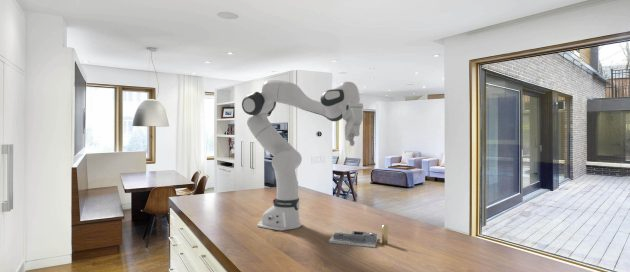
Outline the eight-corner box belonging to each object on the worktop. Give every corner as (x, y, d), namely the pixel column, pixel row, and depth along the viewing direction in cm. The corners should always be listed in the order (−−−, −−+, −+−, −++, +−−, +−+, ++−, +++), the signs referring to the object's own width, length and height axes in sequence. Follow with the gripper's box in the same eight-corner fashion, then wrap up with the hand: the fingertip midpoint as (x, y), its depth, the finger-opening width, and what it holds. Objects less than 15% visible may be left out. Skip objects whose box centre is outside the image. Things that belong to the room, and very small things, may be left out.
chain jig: (328, 242, 147) (328, 233, 147) (335, 234, 159) (335, 226, 159) (375, 247, 142) (375, 238, 142) (378, 238, 153) (378, 229, 153)
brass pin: (381, 244, 146) (381, 225, 145) (382, 242, 148) (382, 224, 148) (387, 244, 145) (387, 226, 145) (387, 243, 147) (387, 224, 147)
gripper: (340, 124, 163) (343, 150, 156) (349, 101, 145) (352, 129, 138) (353, 124, 163) (356, 150, 157) (363, 101, 145) (367, 129, 139)
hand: (354, 140), depth 147 cm, fingers open, 8 cm apart
